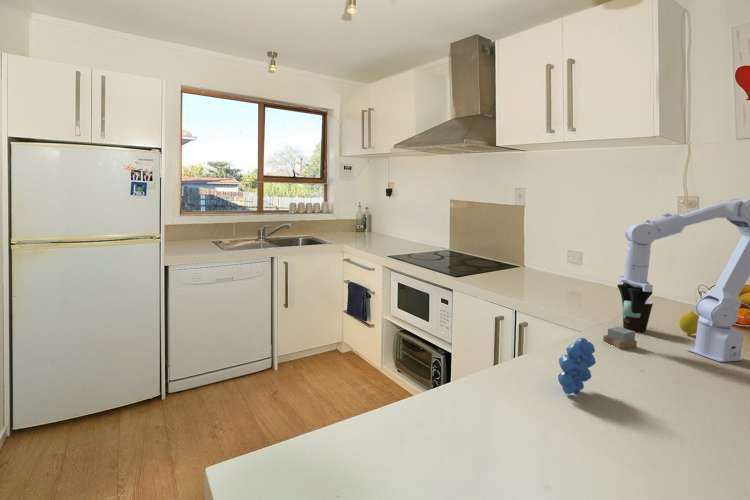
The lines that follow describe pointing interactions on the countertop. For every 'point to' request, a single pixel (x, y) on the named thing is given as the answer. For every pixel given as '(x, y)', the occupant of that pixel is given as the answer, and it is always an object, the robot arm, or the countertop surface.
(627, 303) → the teal cylinder
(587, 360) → the grapes
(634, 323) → the coffee mug
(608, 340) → the walnut block
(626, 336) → the grey square slab
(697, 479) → the countertop surface
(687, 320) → the lemon
